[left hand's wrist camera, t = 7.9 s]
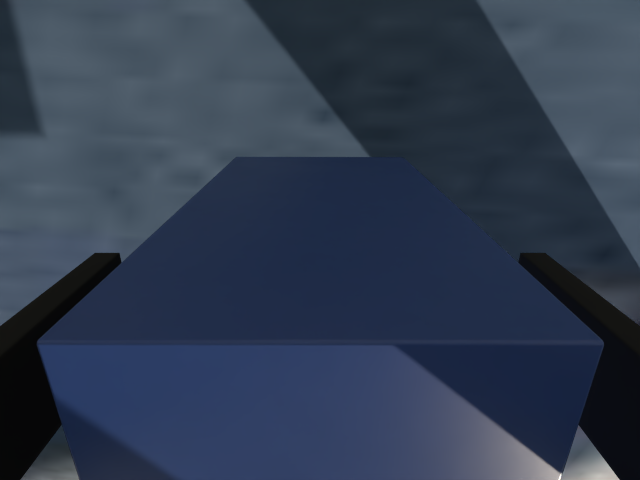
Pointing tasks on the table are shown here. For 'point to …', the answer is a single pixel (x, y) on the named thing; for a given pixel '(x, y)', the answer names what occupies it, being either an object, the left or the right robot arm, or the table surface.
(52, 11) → the table surface
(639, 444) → the left robot arm
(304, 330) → the box
